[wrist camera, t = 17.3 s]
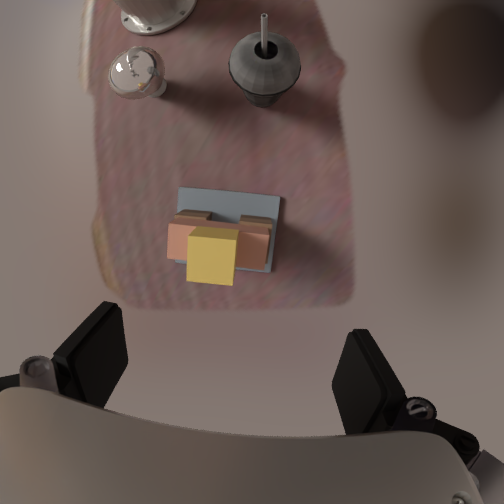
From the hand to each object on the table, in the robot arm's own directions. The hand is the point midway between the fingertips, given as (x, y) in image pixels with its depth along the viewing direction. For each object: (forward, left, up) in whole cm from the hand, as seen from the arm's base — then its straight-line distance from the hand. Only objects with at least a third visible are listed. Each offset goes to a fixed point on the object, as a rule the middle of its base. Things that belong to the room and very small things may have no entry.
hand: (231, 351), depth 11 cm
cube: (+2, -3, -20) cm, 21 cm away
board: (+2, -3, -30) cm, 31 cm away
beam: (+2, -3, -24) cm, 25 cm away
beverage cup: (-18, 0, -31) cm, 35 cm away
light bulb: (-18, -15, -31) cm, 38 cm away
